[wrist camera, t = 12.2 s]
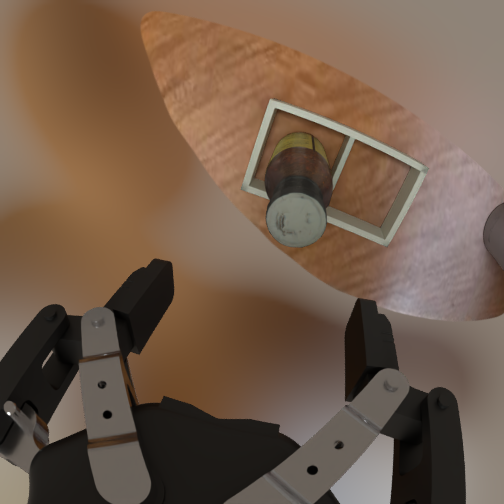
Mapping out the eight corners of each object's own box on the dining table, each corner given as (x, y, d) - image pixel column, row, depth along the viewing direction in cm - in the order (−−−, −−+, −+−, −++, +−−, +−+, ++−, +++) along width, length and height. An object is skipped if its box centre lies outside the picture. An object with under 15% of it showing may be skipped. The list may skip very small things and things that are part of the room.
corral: (419, 161, 33) (428, 168, 30) (382, 234, 39) (387, 247, 36) (274, 98, 33) (270, 99, 30) (246, 181, 39) (240, 189, 36)
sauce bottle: (267, 162, 37) (223, 230, 21) (291, 121, 34) (267, 152, 17) (311, 188, 38) (305, 276, 21) (337, 148, 34) (358, 208, 18)
